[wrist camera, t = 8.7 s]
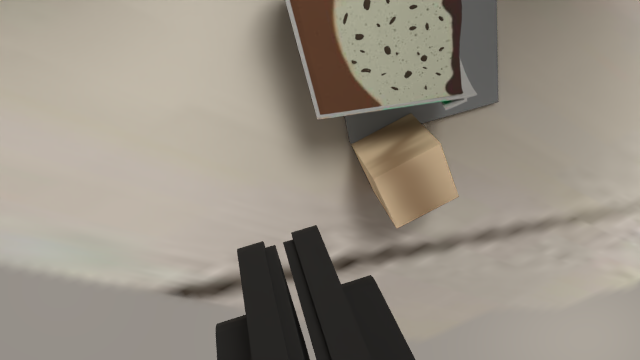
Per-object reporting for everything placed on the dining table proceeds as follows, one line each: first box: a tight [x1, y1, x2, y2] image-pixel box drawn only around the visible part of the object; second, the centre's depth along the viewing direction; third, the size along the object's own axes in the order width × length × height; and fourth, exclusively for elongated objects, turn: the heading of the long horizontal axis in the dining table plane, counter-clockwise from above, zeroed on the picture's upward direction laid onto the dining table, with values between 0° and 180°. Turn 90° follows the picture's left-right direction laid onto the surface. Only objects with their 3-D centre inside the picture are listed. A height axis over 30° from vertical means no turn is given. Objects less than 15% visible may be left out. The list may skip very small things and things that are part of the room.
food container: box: [285, 0, 477, 120], centre depth 31 cm, size 12×6×10 cm
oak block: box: [351, 113, 459, 228], centre depth 36 cm, size 5×5×5 cm
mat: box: [345, 0, 498, 144], centre depth 33 cm, size 12×18×1 cm, turn 12°
